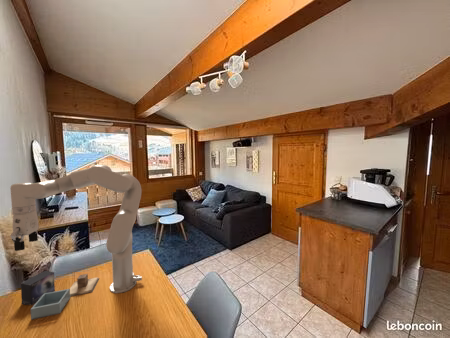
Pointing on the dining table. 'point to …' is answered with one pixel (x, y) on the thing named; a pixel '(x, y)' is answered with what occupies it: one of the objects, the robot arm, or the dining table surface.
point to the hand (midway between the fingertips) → (27, 245)
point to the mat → (88, 292)
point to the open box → (50, 304)
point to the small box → (37, 287)
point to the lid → (83, 285)
